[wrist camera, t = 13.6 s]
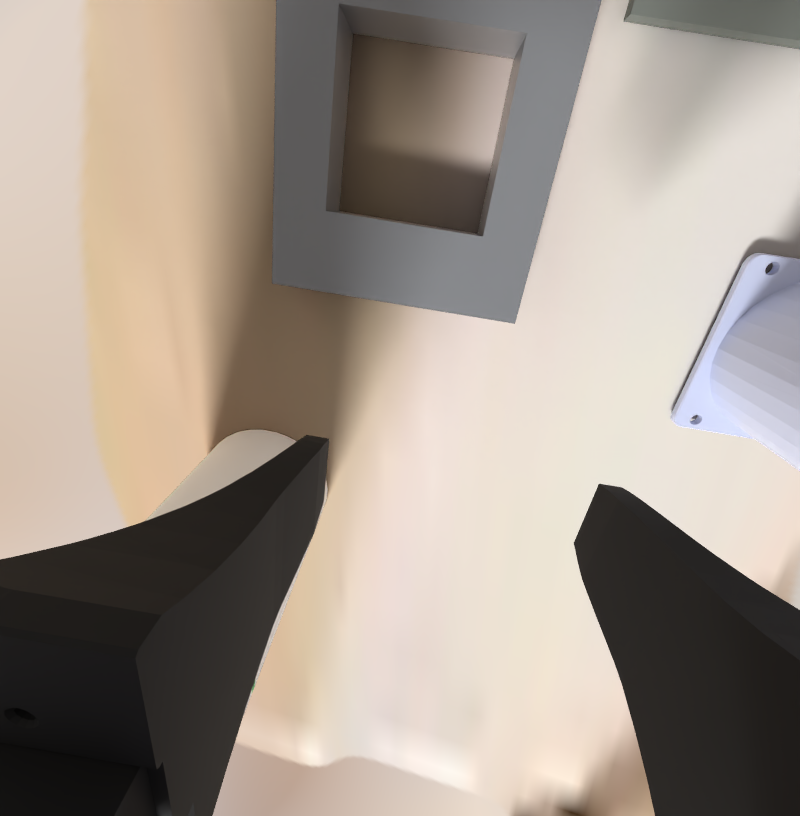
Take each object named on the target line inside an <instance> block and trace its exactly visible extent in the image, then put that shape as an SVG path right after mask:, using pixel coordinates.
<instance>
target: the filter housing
mask: <svg viewBox="0 0 800 816" xmlns="http://www.w3.org/2000/svg"><path fill="white" fill-rule="evenodd" d="M600 4H601V0H276V57H275V123H274V189H273V255H272V284H278V285H284V286H291V287H297V288H303V289H309V290H315V291H321V292H327V293H333V294H339V295H345V296H351V297H357V298H363V299H369V300H375V301H381V302H387V303H393V304H399V305H405V306H411V307H418V308H424V309H430V310H436V311H442V312H448V313H454V314H460V315H466V316H472V317H478V318H484V319H490V320H496V321H502V322H508V323H514V324H515V321H516V318H517V314H518V310H519V306H520V303H521V299H522V295H523V291H524V288H525V284H526V280H527V276H528V273H529V269H530V265H531V262H532V258H533V254H534V250H535V247H536V243H537V239H538V235H539V232H540V228H541V224H542V220H543V217H544V213H545V209H546V205H547V202H548V198H549V194H550V191H551V187H552V183H553V179H554V176H555V172H556V168H557V164H558V161H559V157H560V153H561V149H562V146H563V142H564V138H565V134H566V131H567V127H568V123H569V120H570V116H571V112H572V108H573V105H574V101H575V97H576V93H577V90H578V86H579V82H580V78H581V75H582V71H583V67H584V63H585V60H586V56H587V52H588V49H589V45H590V41H591V37H592V34H593V30H594V26H595V22H596V19H597V15H598V11H599V7H600ZM353 34H359V35H366V36H372V37H378V38H385V39H391V40H397V41H404V42H410V43H416V44H422V45H429V46H435V47H441V48H448V49H454V50H460V51H467V52H473V53H479V54H486V55H492V56H498V57H505V58H511V59H514V61H513V66H512V71H511V75H510V80H509V85H508V90H507V94H506V99H505V104H504V109H503V114H502V118H501V123H500V128H499V133H498V137H497V142H496V147H495V152H494V157H493V161H492V166H491V171H490V176H489V180H488V185H487V190H486V195H485V200H484V204H483V209H482V214H481V219H480V223H479V228H478V233H471V232H465V231H459V230H453V229H447V228H441V227H434V226H428V225H422V224H416V223H410V222H404V221H398V220H392V219H385V218H379V217H373V216H367V215H361V214H355V213H349V212H343V211H340V198H341V185H342V172H343V159H344V146H345V133H346V120H347V107H348V94H349V81H350V68H351V55H352V42H353Z"/></svg>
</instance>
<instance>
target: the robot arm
mask: <svg viewBox="0 0 800 816" xmlns="http://www.w3.org/2000/svg"><path fill="white" fill-rule="evenodd" d="M770 263H772V264H773V267H772V269H771V271H770V272H768V273H766V272H765V270H766V267H767V266H768V264H770ZM695 415H697V418H696V419H695V420H693V421H690V419H691V418H692V417H693V416H695ZM671 420H672V421H673V422H674V423H675V424H676V425H677V426H680V427H685V428H691V429H697V430H703V431H709V432H715V433H721V434H727V435H733V436H739V437H745V438H751V439H756V440H757V441H758V442H760V443H761V444H762V445H764V446H765V447H767V448H768V449H769V450H771V451H772V452H774V453H775V454H776V455H778V456H779V457H781V458H782V459H783V460H785V461H786V462H788V463H789V464H790V465H792V466H793V467H795V468H796V469H797V470H799V471H800V259H796V258H790V257H784V256H778V255H771V254H765V253H755V254H752V255H750V256H749V257H748V258H746V259H745V261H744V262H743V264H742V266H741V268H740V270H739V272H738V274H737V276H736V279H735V281H734V283H733V285H732V287H731V289H730V291H729V293H728V295H727V298H726V300H725V302H724V304H723V306H722V308H721V310H720V312H719V314H718V317H717V319H716V321H715V323H714V325H713V327H712V329H711V331H710V333H709V335H708V338H707V340H706V342H705V344H704V346H703V348H702V350H701V352H700V354H699V357H698V359H697V361H696V363H695V365H694V367H693V369H692V371H691V373H690V376H689V378H688V380H687V382H686V384H685V386H684V388H683V390H682V392H681V395H680V397H679V399H678V401H677V403H676V405H675V407H674V409H673V411H672V414H671ZM328 447H329V439H327V438H321V437H315V436H309V435H306V436H304V437H303V438H301V439H300V440H298V441H297V442H295V443H294V444H293V445H291V446H290V447H288V448H287V449H285V450H284V451H282V452H281V453H280V454H278V455H277V456H275V457H274V458H272V459H271V460H269V461H268V462H266V463H265V464H263V465H261V466H260V467H258V468H257V469H255V470H254V471H252V472H250V473H248V474H247V475H245V476H243V477H241V478H240V479H238V480H236V481H235V482H233V483H231V484H229V485H228V486H226V487H224V488H222V489H220V490H218V491H216V492H214V493H212V494H210V495H208V496H206V497H204V498H201V499H199V500H197V501H195V502H193V503H190V504H188V505H186V506H183V507H181V508H178V509H176V510H173V511H171V512H168V513H165V514H163V515H160V516H157V517H155V518H152V519H149V520H147V521H144V522H142V523H139V524H136V525H133V526H130V527H126V528H123V529H120V530H117V531H114V532H111V533H107V534H104V535H100V536H97V537H93V538H90V539H86V540H83V541H79V542H75V543H71V544H67V545H63V546H59V547H54V548H50V549H46V550H41V551H37V552H33V553H29V554H24V555H20V556H15V557H11V558H6V559H1V560H0V816H212V815H213V812H214V808H215V805H216V802H217V798H218V795H219V792H220V789H221V785H222V782H223V779H224V775H225V772H226V769H227V765H228V762H229V759H230V756H231V753H232V750H233V746H234V743H235V740H236V737H237V734H238V730H239V727H240V724H241V721H242V718H243V715H244V711H245V708H246V705H247V702H248V699H249V696H250V693H251V690H252V687H253V684H254V681H255V678H256V675H257V672H258V669H259V666H260V663H261V660H262V657H263V654H264V651H265V648H266V645H267V642H268V639H269V636H270V634H271V631H272V628H273V625H274V622H275V620H276V617H277V615H278V612H279V610H280V608H281V605H282V603H283V601H284V599H285V596H286V594H287V592H288V590H289V588H290V585H291V583H292V581H293V579H294V577H295V574H296V572H297V570H298V568H299V566H300V563H301V561H302V559H303V557H304V555H305V552H306V550H307V548H308V546H309V543H310V541H311V539H312V537H313V534H314V532H315V528H316V525H317V522H318V519H319V516H320V512H321V509H322V506H323V502H324V494H325V483H326V471H327V459H328ZM574 546H575V550H576V555H577V560H578V564H579V568H580V572H581V576H582V580H583V582H584V585H585V588H586V591H587V593H588V596H589V599H590V601H591V604H592V606H593V609H594V612H595V614H596V617H597V619H598V622H599V624H600V627H601V629H602V632H603V635H604V637H605V640H606V642H607V645H608V647H609V650H610V652H611V655H612V658H613V660H614V663H615V665H616V668H617V671H618V674H619V677H620V680H621V683H622V686H623V689H624V693H625V697H626V700H627V704H628V707H629V711H630V714H631V718H632V721H633V725H634V729H635V732H636V736H637V740H638V744H639V748H640V752H641V756H642V760H643V764H644V768H645V772H646V776H647V780H648V785H649V789H650V794H651V799H652V803H653V808H654V812H655V816H800V610H798V609H797V608H795V607H794V606H792V605H790V604H789V603H787V602H786V601H784V600H782V599H781V598H779V597H778V596H776V595H774V594H773V593H771V592H769V591H768V590H766V589H765V588H763V587H761V586H760V585H758V584H757V583H755V582H754V581H752V580H751V579H749V578H748V577H746V576H745V575H743V574H742V573H740V572H739V571H737V570H736V569H734V568H733V567H732V566H730V565H729V564H727V563H726V562H724V561H723V560H722V559H720V558H719V557H717V556H716V555H714V554H713V553H712V552H710V551H709V550H707V549H706V548H705V547H703V546H702V545H701V544H699V543H698V542H697V541H695V540H694V539H692V538H691V537H690V536H688V535H687V534H686V533H684V532H683V531H682V530H680V529H679V528H678V527H676V526H675V525H674V524H673V523H671V522H670V521H669V520H667V519H666V518H665V517H663V516H662V515H661V514H659V513H658V512H657V511H655V510H654V509H653V508H651V507H650V506H649V505H647V504H646V503H644V502H643V501H642V500H640V499H639V498H638V497H636V496H635V495H633V494H632V493H630V492H629V491H627V490H625V489H624V488H621V487H615V486H609V485H603V484H599V485H598V488H597V490H596V492H595V495H594V497H593V499H592V502H591V504H590V506H589V509H588V511H587V513H586V516H585V518H584V520H583V523H582V525H581V528H580V530H579V532H578V535H577V537H576V539H575V542H574Z"/></svg>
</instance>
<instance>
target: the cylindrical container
mask: <svg viewBox="0 0 800 816" xmlns="http://www.w3.org/2000/svg"><path fill="white" fill-rule="evenodd" d="M295 442H297V441H295V440H293V439H291V438H290V437H288V436H285V435H282V434H280V433H277V432H272V431H267V430H245V431H240V432H237V433H234V434H232V435H230V436H227V437H226V438H225V439H223V440H222V441H221V442H219V443H218V444H217V445H216V447H215V448H214V449H213V450H212V451H211V452H210V453H209V454H208V455H207V456H206V457H205V458H204V459H203V460H202V461H201V462H200V463H199V464H198V466H197V467H196V468H195V469H194V470H193V471H192V472H191V473H190V474H189V475H188V476H187V477H186V478H185V479H184V480H183V481H182V482H181V484H180V485H179V486H178V487H177V488H176V489H175V490H174V491H173V492H172V493H171V494H170V495H169V496H168V497H167V498H166V499H165V500H164V501H163V503H162V504H161V505H160V506H159V507H158V508H157V509H156V510H155V511H154V512H153V513H152V514H151V515H150V516H149V517H148V518H147V519H146V520H145V521H147V520H149V519H152V518H155V517H157V516H160V515H163V514H165V513H168V512H171V511H173V510H176V509H178V508H181V507H183V506H186V505H188V504H190V503H193V502H195V501H197V500H199V499H201V498H204V497H206V496H208V495H210V494H212V493H214V492H216V491H218V490H220V489H222V488H224V487H226V486H228V485H229V484H231V483H233V482H235V481H236V480H238V479H240V478H241V477H243V476H245V475H247V474H248V473H250V472H252V471H254V470H255V469H257V468H258V467H260V466H261V465H263V464H265V463H266V462H268V461H269V460H271V459H272V458H274V457H275V456H277V455H278V454H280V453H281V452H282V451H284V450H285V449H287V448H288V447H290V446H291V445H293V444H294V443H295ZM327 492H328V488H327V480H326V483H325V494H324V502H323V506H322V509H321V512H320V516H321V513H322V511H323V508H324V505H325V503H326V500H327ZM320 516H319V518H320ZM318 521H319V519H318ZM317 524H318V522H317ZM316 526H317V525H316ZM315 529H316V528H315ZM310 542H311V541H310ZM309 544H310V543H309ZM308 547H309V546H308ZM307 549H308V548H307ZM306 552H307V550H306ZM306 552H305V555H306ZM305 555H304V557H305ZM304 557H303V559H302V561H301V563H300V566H299V568H298V570H297V572H296V574H295V577H294V579H293V581H292V583H291V585H290V588H289V590H288V592H287V594H286V596H285V599H284V601H283V603H282V605H281V608H280V610H279V612H278V615H277V617H276V620H275V622H274V625H273V628H272V631H271V634H270V636H269V639H268V642H267V645H266V648H265V651H264V654H263V657H262V660H261V663H260V666H259V669H258V672H257V675H256V678H255V681H254V684H253V687H252V690H251V693H250V696H249V699H248V702H249V700H250V697H251V694H252V692H253V689H254V687H255V684H256V682H257V679H258V677H259V674H260V671H261V669H262V666H263V664H264V661H265V658H266V656H267V653H268V651H269V648H270V645H271V643H272V640H273V638H274V635H275V632H276V630H277V627H278V625H279V622H280V620H281V617H282V614H283V612H284V609H285V607H286V604H287V601H288V599H289V596H290V594H291V591H292V588H293V586H294V583H295V581H296V578H297V575H298V573H299V570H300V568H301V565H302V562H303V560H304ZM248 702H247V705H248ZM247 705H246V708H247ZM246 708H245V710H246ZM244 713H245V711H244Z"/></svg>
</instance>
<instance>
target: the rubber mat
mask: <svg viewBox="0 0 800 816" xmlns="http://www.w3.org/2000/svg"><path fill="white" fill-rule="evenodd" d="M624 22H631V23H637V24H644V25H650V26H656V27H663V28H669V29H676V30H682V31H688V32H695V33H701V34H707V35H714V36H720V37H727V38H733V39H739V40H746V41H752V42H759V43H765V44H771V45H778V46H784V47H790V48H797V49H800V0H630V1H629V4H628V8H627V11H626V15H625V18H624Z"/></svg>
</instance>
